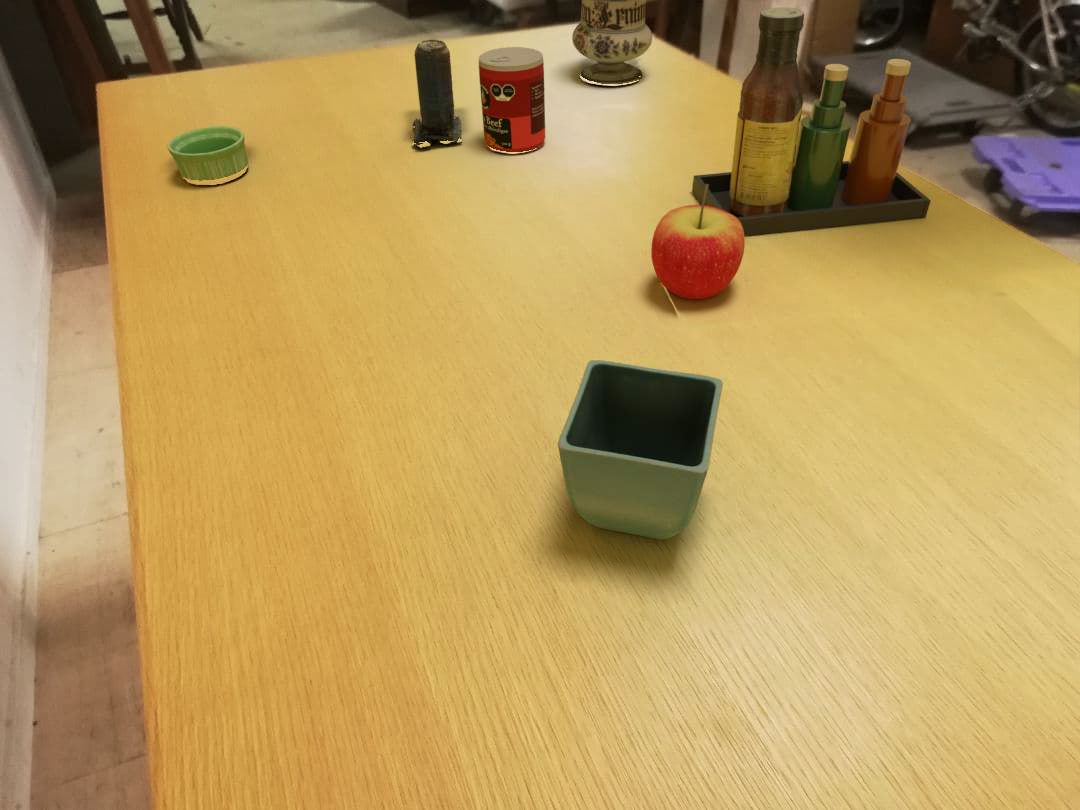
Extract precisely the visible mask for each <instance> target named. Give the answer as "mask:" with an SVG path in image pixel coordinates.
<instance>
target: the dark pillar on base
mask: <svg viewBox="0 0 1080 810" xmlns="http://www.w3.org/2000/svg"><path fill="white" fill-rule="evenodd" d="M414 65H415V73H416V74H415V75H416V83H417V84H416V85H417V93H418V94H417V95H418V102H419V103H418V104H419V112H420V113H419V115H420V118H421V119H420V118H417V117H416V118H415V119H414V121H413V122H412V127H413V126H415V129H414V139H413V140H414V143H416V145H415V144H414V145H413V146H415V147H417V145H420V144H423V143H419V142H425V141H427V142H428V143H430V142H431V141H434V140H437V139H439V140H438V144H439V143H440V141H447V140H448V141H453V143H456V142H455V141H458V139H459V138H460V139H462V136H461V135H462V120H461V116H460V115H459V114H458V115H457V116H456V115H455V101H454V90H453V75H452V63H451V51H450V50H449V47H448V46H447V44H446V42H444V41H443V40H438V39H437V40H436V39H426V40H425V39H424V40H422V41H421V43H417V44H416V47H415V49H414ZM460 129H461V131H460ZM430 139H432V140H430ZM430 144H431V145H432V142H431V143H430Z"/></svg>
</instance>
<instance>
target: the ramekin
mask: <svg viewBox="0 0 1080 810" xmlns="http://www.w3.org/2000/svg"><path fill="white" fill-rule="evenodd" d="M245 139H246V138H245V133H244V131H242V130H241V129H239V128H238V127H234V126H228V125H227V126H226V125H212V126H205V127H199V128H194V129H191V130H187V131H185V132H183V133H180V134H178V135H176V136H174V137H173V138H171V139H170V141H168V143H167V150H168V153H169V154H170V155H171V156H172V158H173V160H174V163H175V165H176V166H177V169H178V171H179V174H180V176H181V175H182V176H183V177H185V178H187V179H190V180H199V181H202V180H215V179H220V178H224V177H228V176H231V175H233V174H236V173H238V172H240V171H241V170H243V169H244V168H245V167H246V166H247V164H248V165H249V161H248V154H247V149H246V145H245ZM182 176H181V177H182Z"/></svg>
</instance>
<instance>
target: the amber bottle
mask: <svg viewBox="0 0 1080 810" xmlns="http://www.w3.org/2000/svg"><path fill="white" fill-rule="evenodd" d="M911 66H912V62H911V61H909V60H907V59H904V58H892V59H889V60H887V63H886V67H885V70H884V71H885V74H884V79H883V84H882V86H881V91H880V93H875V94H874V95H873V98H872V101H871V105H870V109H867V110H864V111H862V112H860V114H859V117H858V122H857V125H856V130H855V135H854V139H853V142H852V148H851V152H850V155H849V160H848V161H849V164H848V168H847V172H846V177H845V181H844V185H843V189H842V194H841V198H842V199H843V200H844V201H845V202H846V203H848V204H850V205H853V206H854V205H864V204H873V203H883V202H888V201H889V198H890V194H891V191H892V187H893V183H894V180H895V176H896V173H898V169H899V166H900V161H901V158H902V155H903V150H904V146H905V143H906V140H907V137H908V132H909V129H910V125H911V122H912V119H911V117H910V116H909V115H908V114H906V113H904V112H905V109H906V106H907V105H906V104H907V101H908V99H907V97H906V96H904V95H903V91H904V88H905V85H906V81H907V76H908V74H909V73H910V70H911Z"/></svg>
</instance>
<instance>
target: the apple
mask: <svg viewBox="0 0 1080 810" xmlns="http://www.w3.org/2000/svg"><path fill="white" fill-rule="evenodd" d="M708 186H709V184H706V185H705V190H704V196H703V202H702V205H700V204H693V205H692V204H691V205H684V206H680V207H679V206H678V207H676V208H673V209H671V210H669V211H668V212H666V213H665V214H664V215H663V216H662V217H661V219H660V220H659V222H658V223H657V225H656V227H655V229H654V232H653V236H652V240H651V249H650V253H651V262H652V266H653V270H654V272H655V274H656V277H657V278H658V280H659V282H660V283H661V285H662V286H663V287H664V288H665V289H666V290H668V291H669V292H670V293H672V294H674V295H675V296H677V297H680V298H683V299H685V300H703V299H708V298H711V297H714V296H717V295H719V294H720V293H721V292H723V291H724V290H725V289H726V288H727V287H728V286H729V285H730V283H731V282H732V281H733V279H734V278H735V276H736V275H737V273H738V271H739V269H740V267H741V264H742V261H743V257H744V252H745V247H746V246H745V242H746V239H745V238H746V237H744V230H743V227H742V224H741V222H740V221H739V220H738V219H737V218H736V217H735V216H734V215H732V214H730V213H728V212H726V211H724V210H722V209H719V208H716V207H712V206H707V205H704V203H705V199H706V194H707V190H708Z"/></svg>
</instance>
